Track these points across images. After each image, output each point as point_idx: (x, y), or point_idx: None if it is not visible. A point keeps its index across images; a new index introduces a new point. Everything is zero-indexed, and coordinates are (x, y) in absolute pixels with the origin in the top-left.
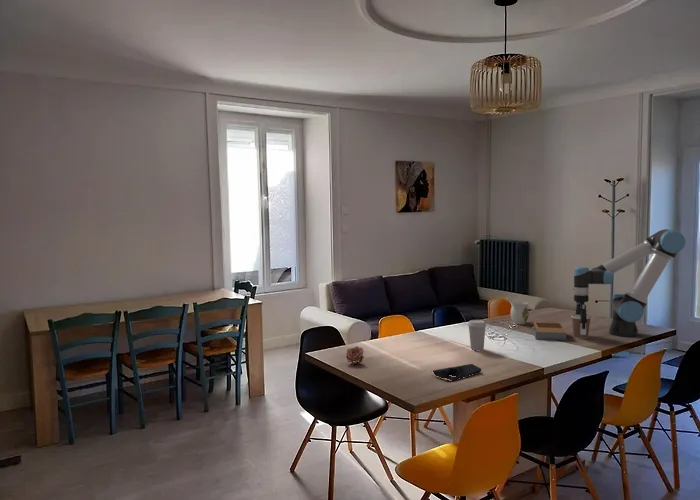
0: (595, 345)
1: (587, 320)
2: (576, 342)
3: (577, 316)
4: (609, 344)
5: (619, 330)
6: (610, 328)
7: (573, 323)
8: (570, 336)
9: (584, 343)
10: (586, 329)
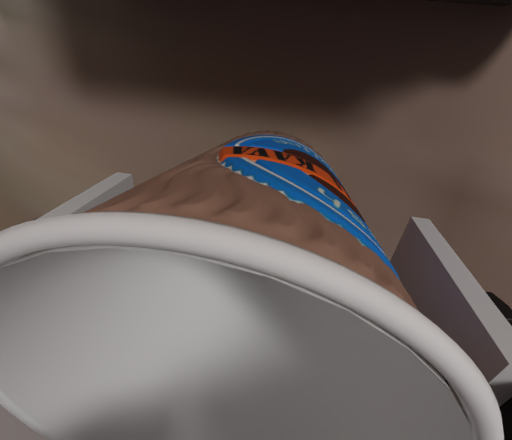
0: (33, 207)
1: (95, 389)
2: (62, 86)
3: (434, 413)
4: None
5: None
6: None
7: (194, 168)
8: (316, 97)
9: (56, 149)
10: (176, 270)
